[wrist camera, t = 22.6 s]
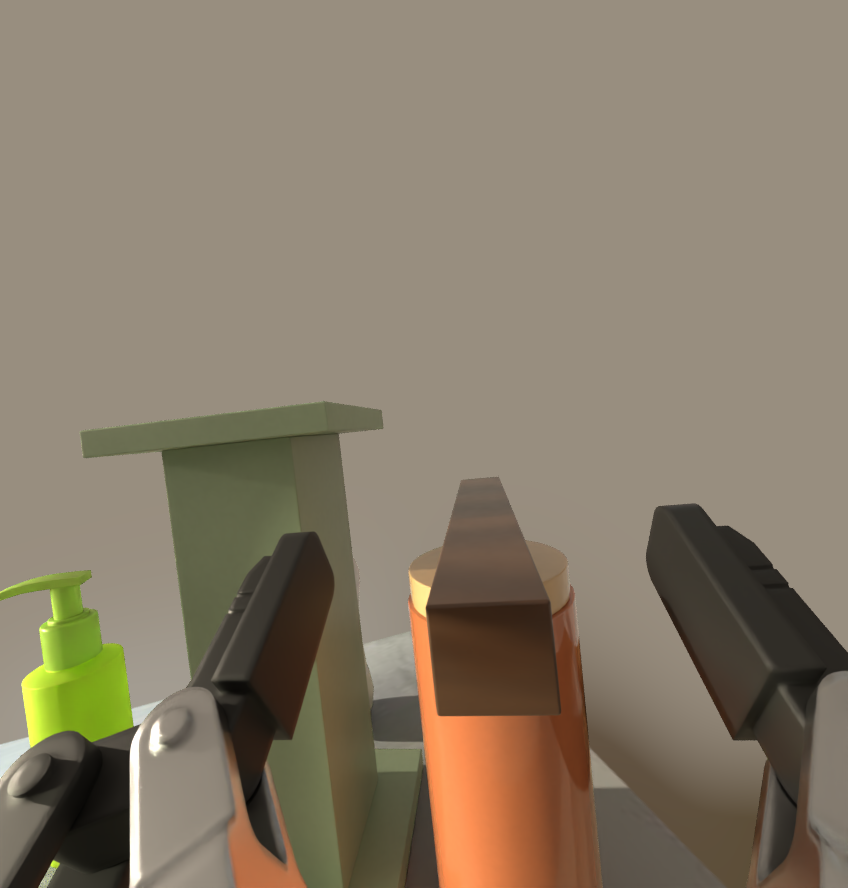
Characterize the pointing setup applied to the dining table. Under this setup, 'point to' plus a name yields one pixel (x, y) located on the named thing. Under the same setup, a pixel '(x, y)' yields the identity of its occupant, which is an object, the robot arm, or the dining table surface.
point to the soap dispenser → (73, 668)
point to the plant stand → (341, 649)
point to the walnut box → (490, 614)
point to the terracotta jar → (511, 764)
